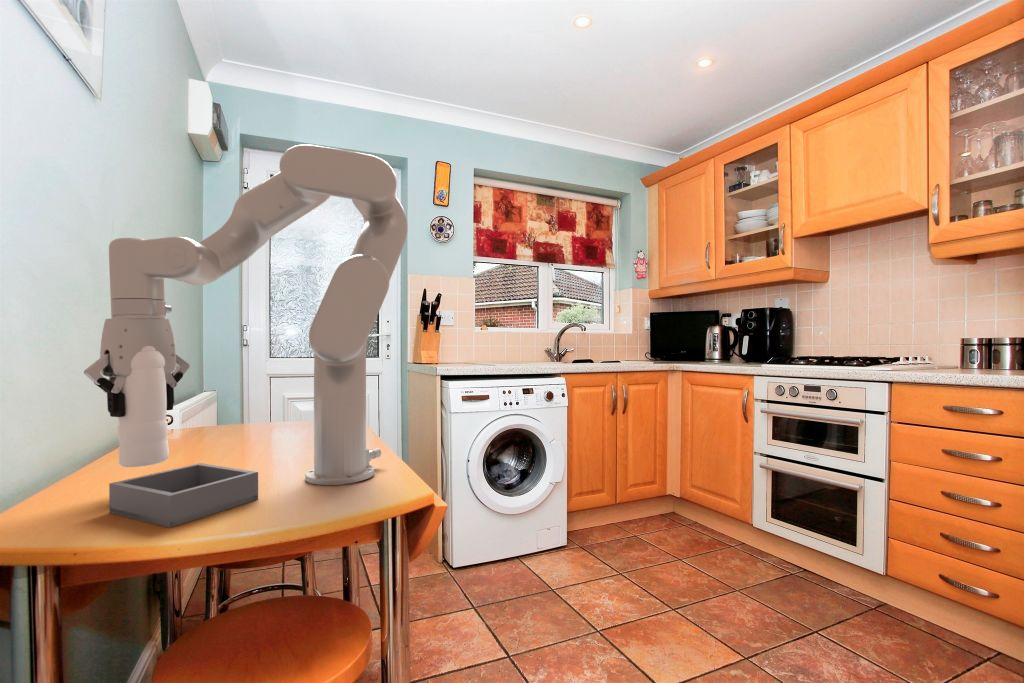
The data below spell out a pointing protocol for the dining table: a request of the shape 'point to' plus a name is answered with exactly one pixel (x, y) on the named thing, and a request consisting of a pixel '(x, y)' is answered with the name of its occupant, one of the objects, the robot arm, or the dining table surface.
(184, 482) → the tray
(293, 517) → the dining table surface
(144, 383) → the water bottle
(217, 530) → the dining table surface
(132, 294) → the robot arm
